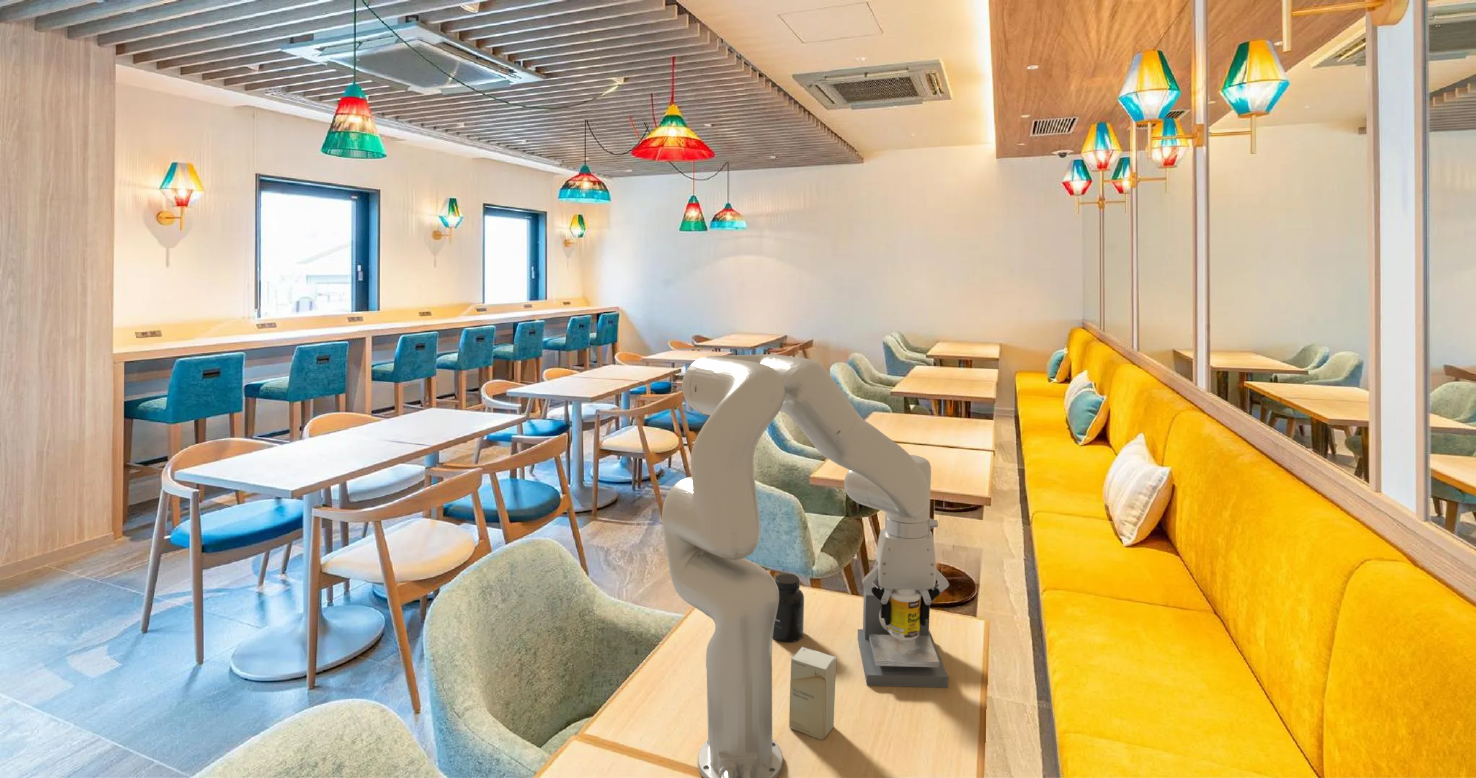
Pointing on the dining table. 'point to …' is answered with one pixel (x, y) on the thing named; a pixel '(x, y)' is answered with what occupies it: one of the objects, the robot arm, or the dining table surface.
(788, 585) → the supplement bottle
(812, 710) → the skincare box
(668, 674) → the dining table surface
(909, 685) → the scale base
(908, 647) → the scale pan
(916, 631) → the supplement bottle
